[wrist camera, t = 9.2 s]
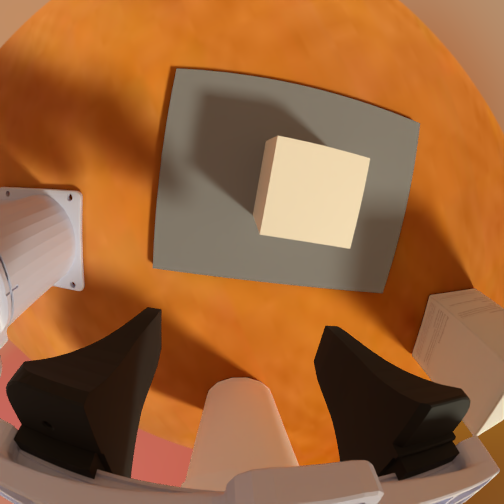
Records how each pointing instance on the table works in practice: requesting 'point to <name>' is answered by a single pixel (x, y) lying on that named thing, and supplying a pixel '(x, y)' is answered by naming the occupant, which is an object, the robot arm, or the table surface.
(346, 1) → the table surface
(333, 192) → the cream cube
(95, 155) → the table surface
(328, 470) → the robot arm
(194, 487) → the foam cup
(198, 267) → the charcoal mat
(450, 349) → the supplement box
